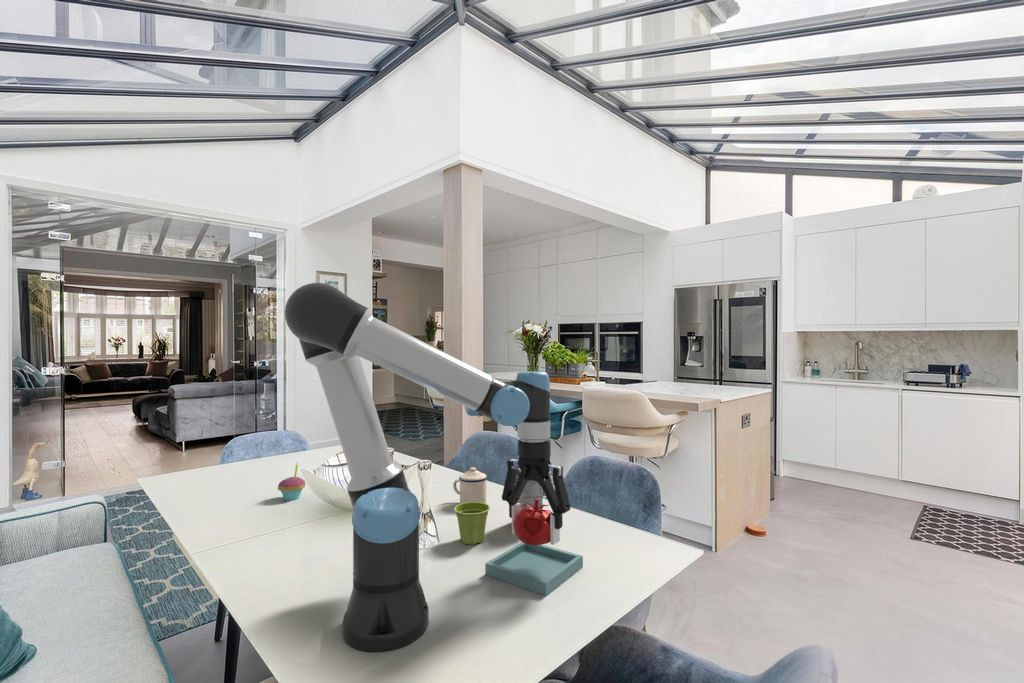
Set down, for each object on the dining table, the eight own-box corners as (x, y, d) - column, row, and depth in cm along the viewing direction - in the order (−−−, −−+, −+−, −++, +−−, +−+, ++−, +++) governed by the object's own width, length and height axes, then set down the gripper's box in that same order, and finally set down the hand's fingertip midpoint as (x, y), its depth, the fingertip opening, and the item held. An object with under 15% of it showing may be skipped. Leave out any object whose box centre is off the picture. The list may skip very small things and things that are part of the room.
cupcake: (296, 493, 169) (297, 459, 169) (310, 497, 164) (310, 462, 164) (272, 499, 162) (273, 463, 162) (286, 504, 157) (286, 467, 157)
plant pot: (484, 549, 121) (484, 514, 121) (449, 546, 123) (449, 512, 123) (493, 535, 130) (493, 503, 130) (460, 532, 132) (460, 500, 132)
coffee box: (511, 521, 140) (511, 466, 140) (532, 519, 142) (531, 464, 142) (521, 533, 131) (521, 474, 131) (543, 530, 133) (543, 472, 133)
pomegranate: (507, 537, 111) (506, 496, 112) (546, 530, 115) (544, 491, 116) (524, 552, 102) (522, 508, 103) (565, 544, 106) (564, 502, 106)
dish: (546, 595, 97) (546, 583, 98) (485, 574, 107) (485, 563, 107) (582, 566, 110) (582, 555, 110) (525, 550, 120) (525, 540, 120)
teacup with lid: (491, 501, 159) (491, 466, 159) (478, 509, 150) (478, 472, 151) (460, 496, 164) (460, 462, 164) (446, 504, 156) (446, 468, 156)
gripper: (585, 441, 106) (587, 543, 105) (504, 432, 119) (505, 522, 118) (569, 447, 100) (570, 555, 99) (485, 436, 113) (486, 532, 112)
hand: (535, 537), depth 109 cm, fingers closed on pomegranate, 10 cm apart
